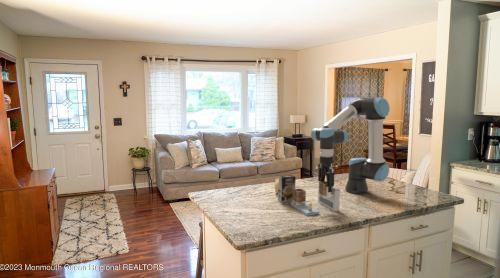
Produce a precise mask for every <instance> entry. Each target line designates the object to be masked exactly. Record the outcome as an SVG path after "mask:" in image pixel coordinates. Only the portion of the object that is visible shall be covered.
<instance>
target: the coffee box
mask: <svg viewBox="0 0 500 278" xmlns="http://www.w3.org/2000/svg"><path fill="white" fill-rule="evenodd" d="M278 178H279V183H278V193H277V201H278V202H280V203H281V204H285V203H290V202H293V189H296V179H297V178H296V176H295V175H293V174H281V175H280V174H278Z"/></svg>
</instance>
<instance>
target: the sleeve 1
mask: <svg viewBox="0 0 500 278" xmlns="http://www.w3.org/2000/svg"><path fill="white" fill-rule="evenodd" d="M306 195H307V191H306V190H305V189H304V188H295V189H293V203H295V204H296V205H302V204H305V203H307V202H306V198H307V197H306Z"/></svg>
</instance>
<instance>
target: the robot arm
mask: <svg viewBox="0 0 500 278" xmlns="http://www.w3.org/2000/svg"><path fill="white" fill-rule="evenodd" d="M343 108H344V109H343V110H341V111H339V112H338V113H337V114H336V115H335V116H334V117H332V118H331V119H329V120H328V121H326V123H324V124H323V125H322V126H320V127H315V128H313V129H312V130H311V131H310V137H311V139H312V140H314V141H317V142H319V163H320V164H318V165H317V166H318V168H317V169H318V174H317V181H318V182H319V181H320V182H323V181H327V186H326V198H330V197H331V189H332V186H335V171H336V169H335V168H333V167H332V164H334V155H335V154H334V152H335V151H334V150H335V149H334V147H335V146H334V145H340V144H344V143H346V142H347V141H348V140H349V133H348V131H346V130H345V129H340V128H342V127H343V126H344V125H345V124H346V123H348V122H349V121H350V120H351V119H355V118H357V117H359V116H365V120H366V121H367V122H368V123H367V125H368V126H367V127H368V158H366V157H354V158H353V157H352V158H350V159H349V162H348V177H347V181H346V185H345V188H344V190H345V191H346V192H347V193H350V194H355V195H364V194H365V195H366V194H368V192H369V186H368V184H367V179H368V180H371V181H375V182H384V181H386V179H387V178H388V176H389V174H390V165H388V164H387V163H386V159H385V158H384V157H383V156H384V149H383V148H384V141H383V140H384V136H383V135H384V132H383V131H384V121H385V120H386V117H388V115H389V112H390V103H389V102H388V100H387V99H386V98H384V97H365V96H364V97H359V98H356V99H354V100H352V101H350V102H349V103H348V104H346V105H345V106H344V107H343Z"/></svg>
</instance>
